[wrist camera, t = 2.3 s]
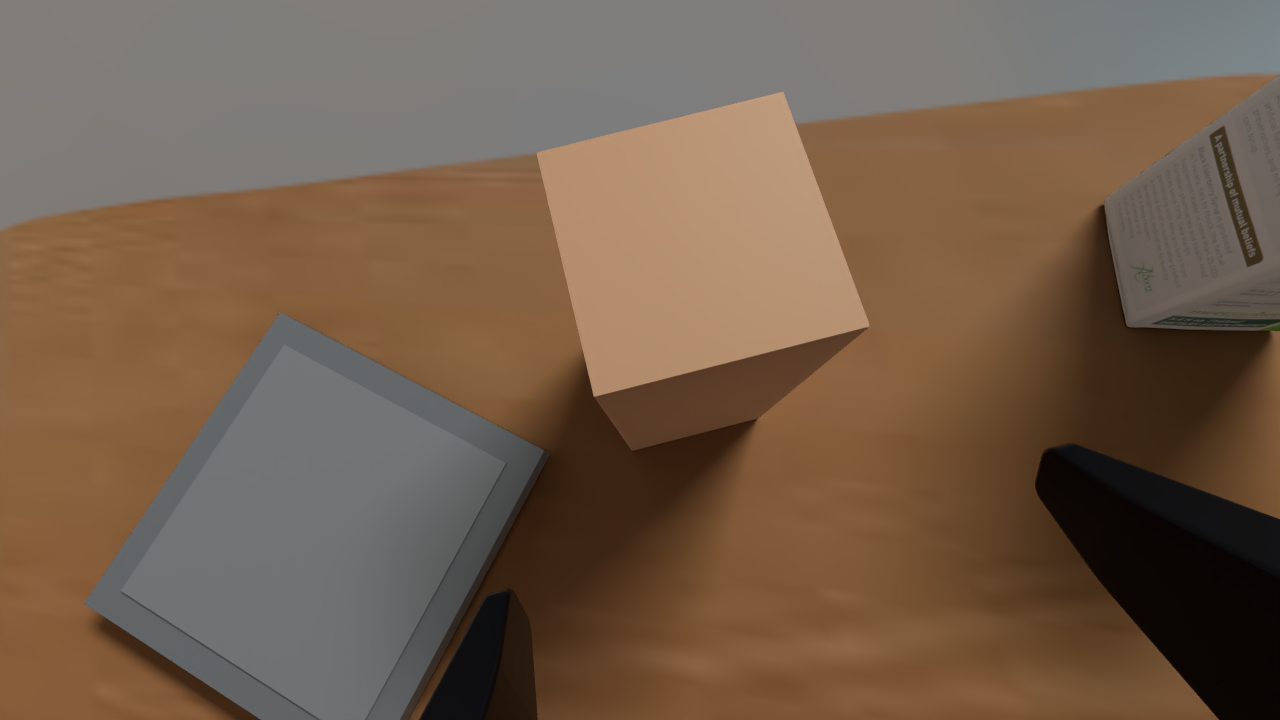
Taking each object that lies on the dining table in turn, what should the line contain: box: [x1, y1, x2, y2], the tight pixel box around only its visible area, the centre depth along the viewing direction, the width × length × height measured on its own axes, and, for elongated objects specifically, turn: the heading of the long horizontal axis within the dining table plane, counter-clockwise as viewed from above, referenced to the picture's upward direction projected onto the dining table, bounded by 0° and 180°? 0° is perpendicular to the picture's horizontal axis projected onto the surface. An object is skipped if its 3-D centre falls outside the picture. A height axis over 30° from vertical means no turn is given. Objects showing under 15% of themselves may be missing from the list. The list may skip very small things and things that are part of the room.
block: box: [537, 92, 870, 451], centre depth 16 cm, size 5×5×12 cm
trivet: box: [84, 313, 551, 720], centre depth 20 cm, size 12×12×1 cm
